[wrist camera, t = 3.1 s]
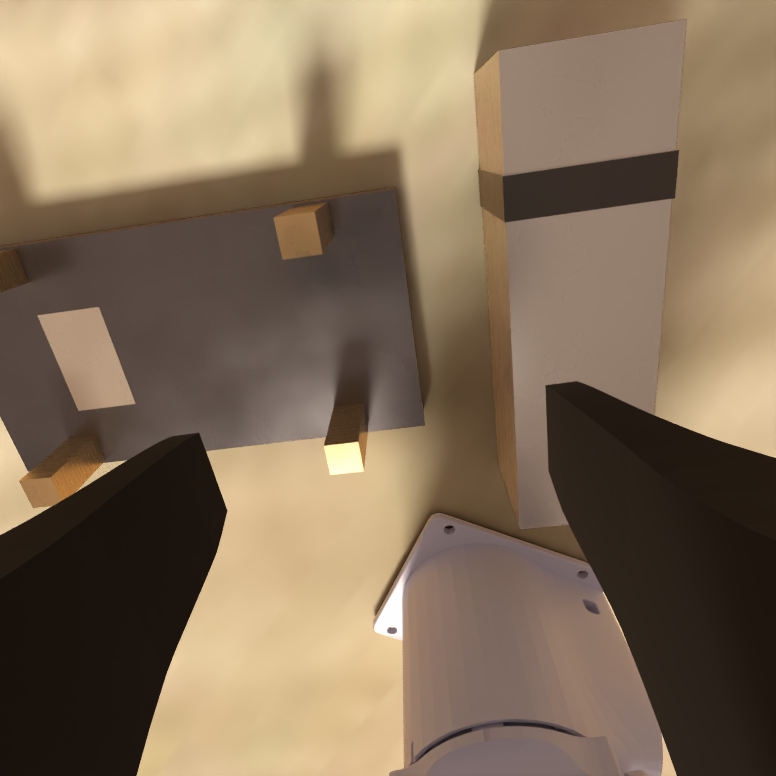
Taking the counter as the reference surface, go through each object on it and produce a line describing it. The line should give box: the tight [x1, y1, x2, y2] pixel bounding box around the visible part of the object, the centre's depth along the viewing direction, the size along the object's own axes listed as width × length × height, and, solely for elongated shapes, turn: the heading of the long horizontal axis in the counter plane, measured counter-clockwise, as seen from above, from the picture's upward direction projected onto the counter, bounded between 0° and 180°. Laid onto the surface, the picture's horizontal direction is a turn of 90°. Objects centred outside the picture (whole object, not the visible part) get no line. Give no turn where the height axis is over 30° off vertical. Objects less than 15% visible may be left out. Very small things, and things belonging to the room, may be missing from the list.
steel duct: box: [474, 19, 687, 530], centre depth 18 cm, size 15×5×5 cm, turn 8°
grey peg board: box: [0, 187, 425, 508], centre depth 19 cm, size 17×9×4 cm, turn 98°
